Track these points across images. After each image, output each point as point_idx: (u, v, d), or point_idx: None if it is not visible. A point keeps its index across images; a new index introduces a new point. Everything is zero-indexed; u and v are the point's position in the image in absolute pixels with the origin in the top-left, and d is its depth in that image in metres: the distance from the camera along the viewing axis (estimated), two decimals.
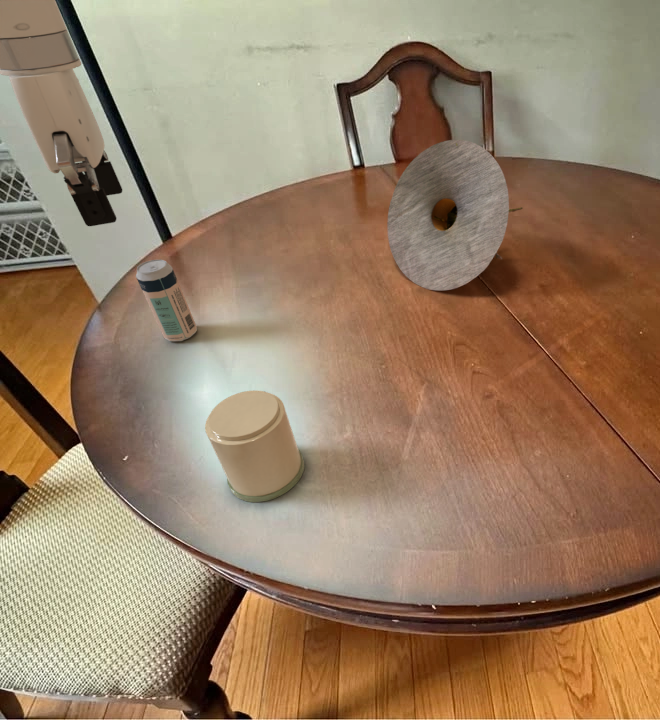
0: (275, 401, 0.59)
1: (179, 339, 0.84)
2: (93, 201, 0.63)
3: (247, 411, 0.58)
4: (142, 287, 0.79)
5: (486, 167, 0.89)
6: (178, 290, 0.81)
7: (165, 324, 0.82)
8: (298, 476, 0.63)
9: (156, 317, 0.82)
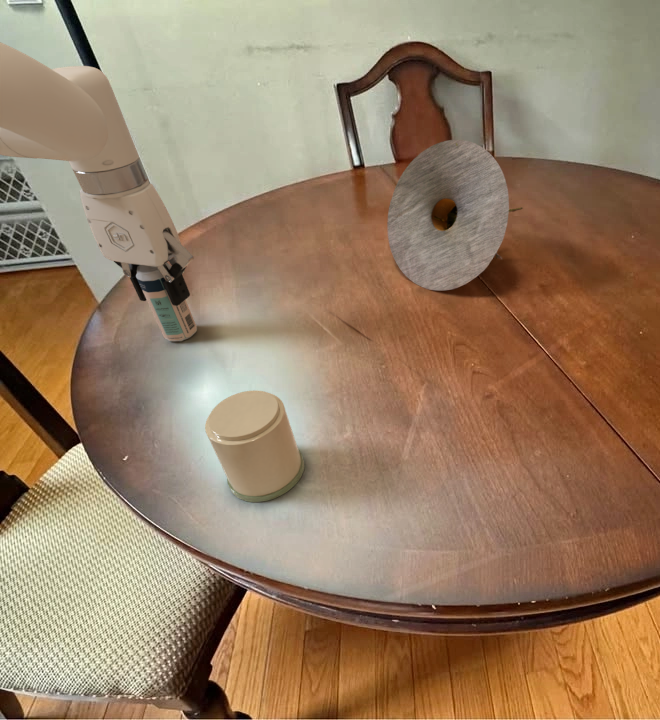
0: (275, 401, 0.59)
1: (179, 339, 0.84)
2: (181, 282, 0.80)
3: (247, 411, 0.58)
4: (142, 287, 0.79)
5: (486, 167, 0.89)
6: None
7: (165, 324, 0.82)
8: (298, 476, 0.63)
9: (156, 317, 0.82)
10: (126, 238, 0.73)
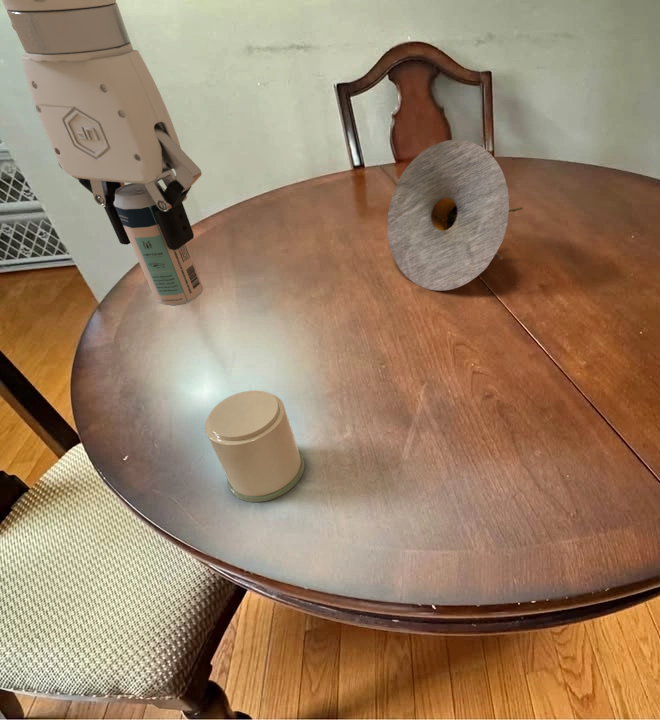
0: (275, 401, 0.59)
1: (178, 302, 0.58)
2: (182, 214, 0.54)
3: (247, 411, 0.58)
4: (123, 220, 0.53)
5: (486, 167, 0.89)
6: None
7: (158, 279, 0.56)
8: (298, 476, 0.63)
9: (144, 268, 0.56)
10: (97, 135, 0.47)
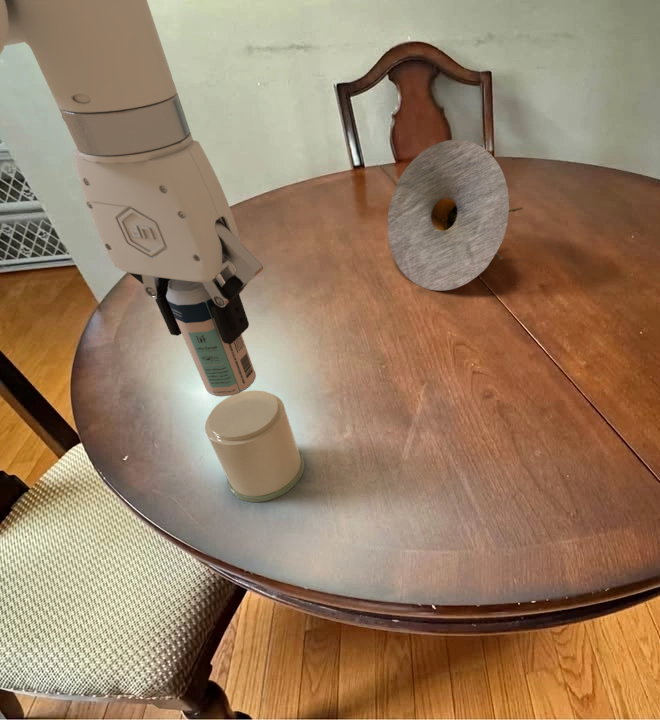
0: (275, 401, 0.59)
1: (231, 393, 0.54)
2: (239, 307, 0.49)
3: (247, 411, 0.58)
4: (176, 314, 0.48)
5: (486, 167, 0.89)
6: None
7: (210, 371, 0.52)
8: (298, 476, 0.63)
9: (196, 360, 0.51)
10: (153, 235, 0.42)
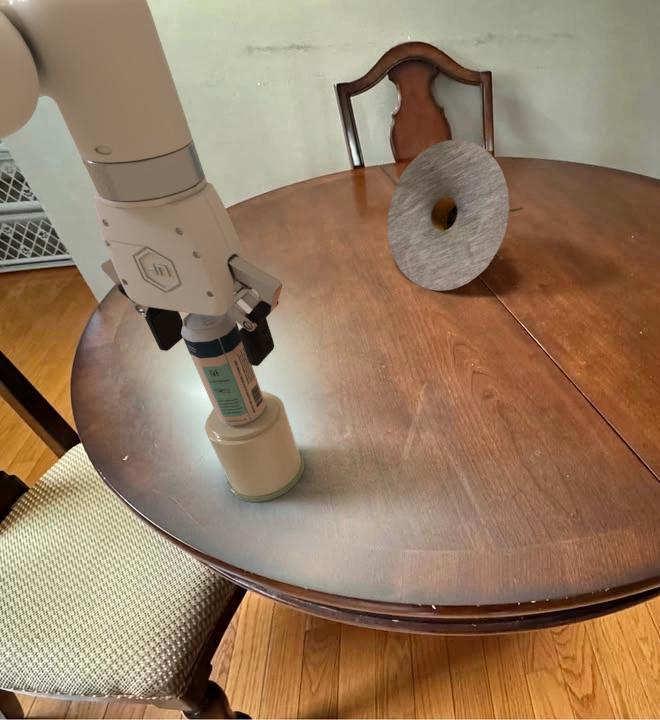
0: (275, 401, 0.59)
1: (242, 422, 0.56)
2: (266, 330, 0.50)
3: None
4: (191, 350, 0.51)
5: (486, 167, 0.89)
6: (243, 352, 0.53)
7: (222, 402, 0.54)
8: (298, 476, 0.63)
9: (209, 392, 0.54)
10: (168, 272, 0.44)
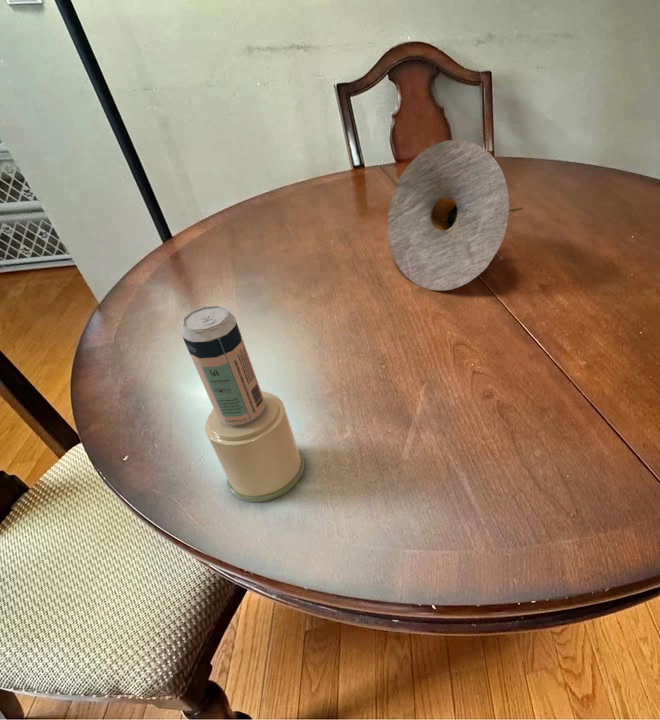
0: (275, 401, 0.59)
1: (242, 422, 0.56)
2: None
3: None
4: (191, 350, 0.51)
5: (486, 167, 0.89)
6: (243, 352, 0.53)
7: (222, 402, 0.54)
8: (298, 476, 0.63)
9: (209, 392, 0.54)
10: None
